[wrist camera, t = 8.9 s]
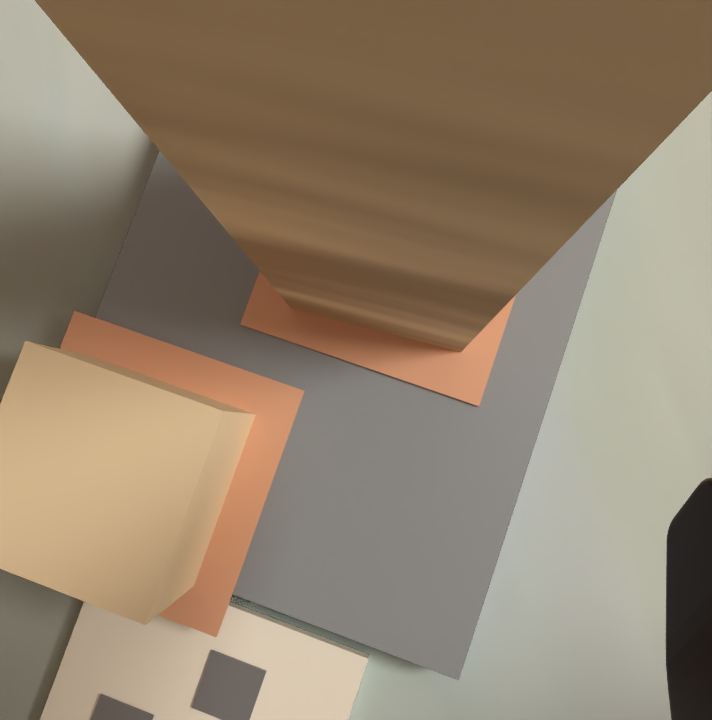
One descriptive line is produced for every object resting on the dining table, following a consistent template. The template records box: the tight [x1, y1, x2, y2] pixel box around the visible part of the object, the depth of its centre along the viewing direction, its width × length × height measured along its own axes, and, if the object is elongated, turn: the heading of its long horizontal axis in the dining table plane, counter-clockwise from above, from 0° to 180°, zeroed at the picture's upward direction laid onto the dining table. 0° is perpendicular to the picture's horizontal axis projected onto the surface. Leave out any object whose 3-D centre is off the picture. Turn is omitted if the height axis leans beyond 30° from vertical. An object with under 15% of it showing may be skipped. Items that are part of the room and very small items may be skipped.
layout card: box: [40, 602, 369, 720], centre depth 16 cm, size 5×7×1 cm
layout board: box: [0, 150, 617, 680], centre depth 15 cm, size 15×12×4 cm
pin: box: [35, 0, 712, 352], centre depth 9 cm, size 4×4×13 cm
